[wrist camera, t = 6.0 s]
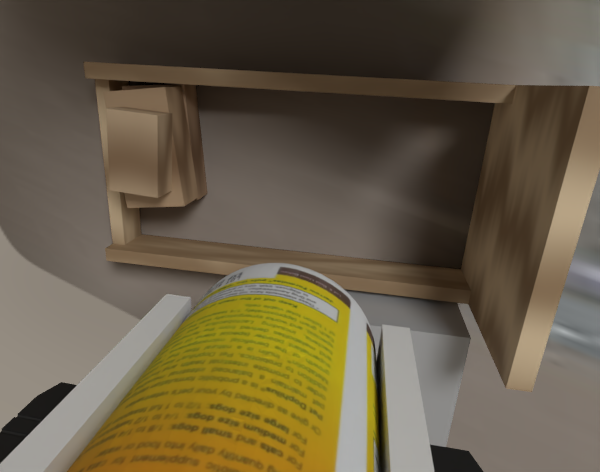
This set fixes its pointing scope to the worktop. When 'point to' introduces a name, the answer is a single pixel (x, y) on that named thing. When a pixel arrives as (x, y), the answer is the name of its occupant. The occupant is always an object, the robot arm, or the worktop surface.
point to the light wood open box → (485, 218)
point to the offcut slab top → (181, 148)
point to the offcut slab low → (189, 130)
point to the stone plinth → (426, 349)
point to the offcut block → (139, 151)
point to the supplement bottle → (253, 385)
